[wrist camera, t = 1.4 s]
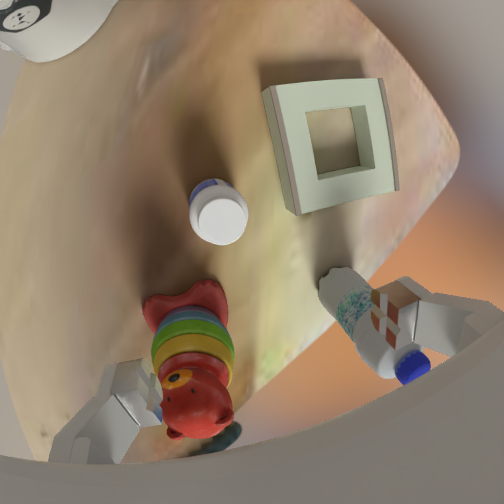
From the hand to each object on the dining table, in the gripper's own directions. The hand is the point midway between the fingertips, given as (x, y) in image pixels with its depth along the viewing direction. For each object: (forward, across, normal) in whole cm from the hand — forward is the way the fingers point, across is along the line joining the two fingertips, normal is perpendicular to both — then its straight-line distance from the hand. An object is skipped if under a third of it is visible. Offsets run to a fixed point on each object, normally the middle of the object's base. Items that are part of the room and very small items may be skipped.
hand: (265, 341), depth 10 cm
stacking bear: (+25, +7, +14) cm, 30 cm away
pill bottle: (+25, 0, 0) cm, 25 cm away
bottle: (+25, -13, +15) cm, 32 cm away
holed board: (+25, -15, -4) cm, 30 cm away
